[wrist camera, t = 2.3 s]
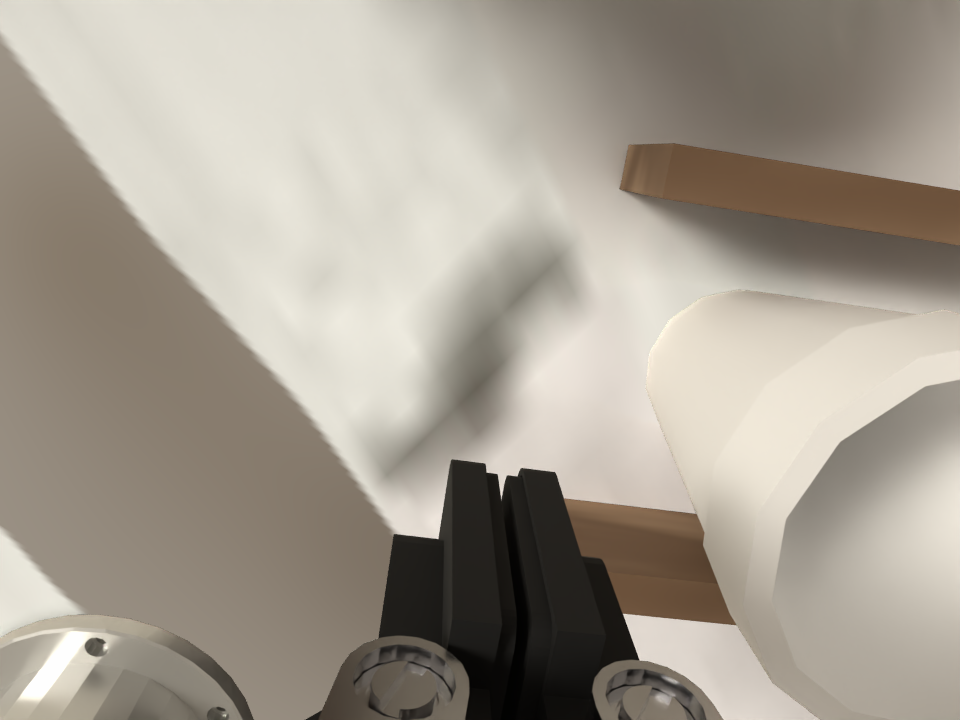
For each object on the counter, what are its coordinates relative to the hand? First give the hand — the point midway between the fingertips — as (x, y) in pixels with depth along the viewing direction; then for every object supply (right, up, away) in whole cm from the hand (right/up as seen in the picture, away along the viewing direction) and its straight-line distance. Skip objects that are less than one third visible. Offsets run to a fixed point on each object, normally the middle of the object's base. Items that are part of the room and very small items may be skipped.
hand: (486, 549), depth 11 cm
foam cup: (+9, +3, +16) cm, 19 cm away
